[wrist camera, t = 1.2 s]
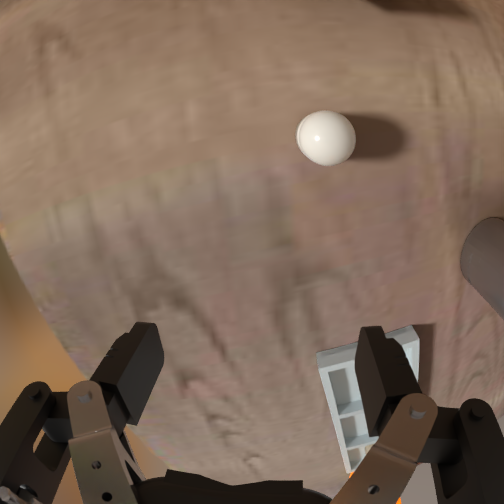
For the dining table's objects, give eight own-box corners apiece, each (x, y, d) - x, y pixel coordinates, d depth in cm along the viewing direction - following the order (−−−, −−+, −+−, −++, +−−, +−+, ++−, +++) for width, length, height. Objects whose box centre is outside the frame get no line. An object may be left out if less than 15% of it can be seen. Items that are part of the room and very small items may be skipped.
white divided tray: (411, 324, 35) (419, 339, 32) (405, 445, 47) (409, 456, 44) (316, 352, 37) (318, 368, 34) (345, 461, 49) (346, 473, 46)
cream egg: (334, 107, 26) (352, 102, 19) (348, 153, 27) (369, 161, 21) (288, 120, 27) (293, 117, 20) (303, 165, 28) (311, 176, 22)
